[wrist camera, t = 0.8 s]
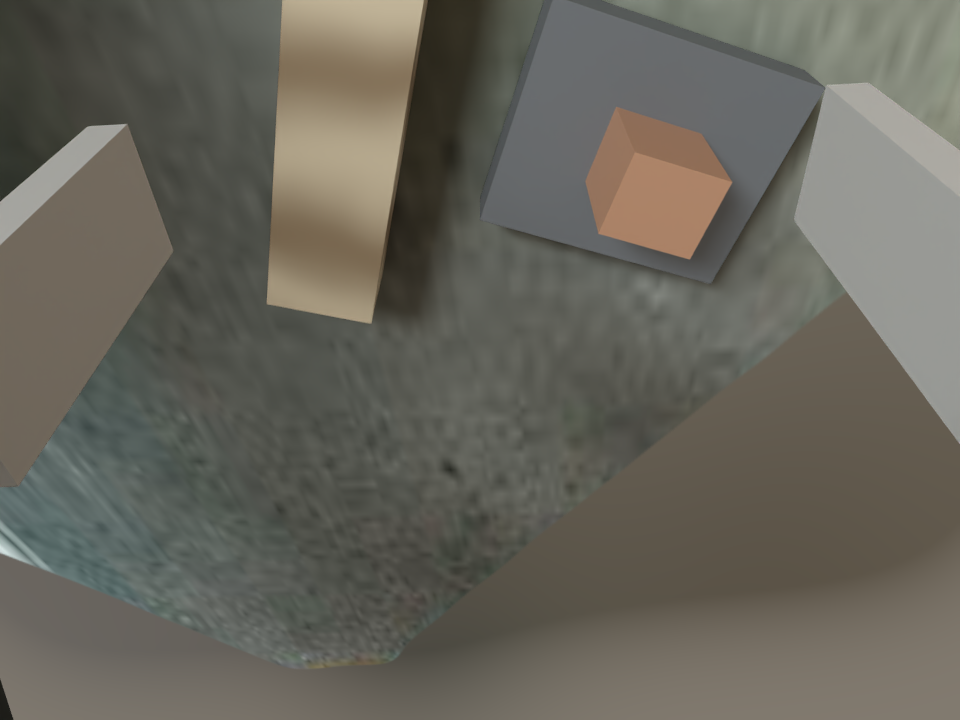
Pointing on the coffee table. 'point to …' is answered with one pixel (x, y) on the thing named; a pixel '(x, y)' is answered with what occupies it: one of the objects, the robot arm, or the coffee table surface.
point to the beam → (339, 149)
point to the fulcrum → (641, 138)
